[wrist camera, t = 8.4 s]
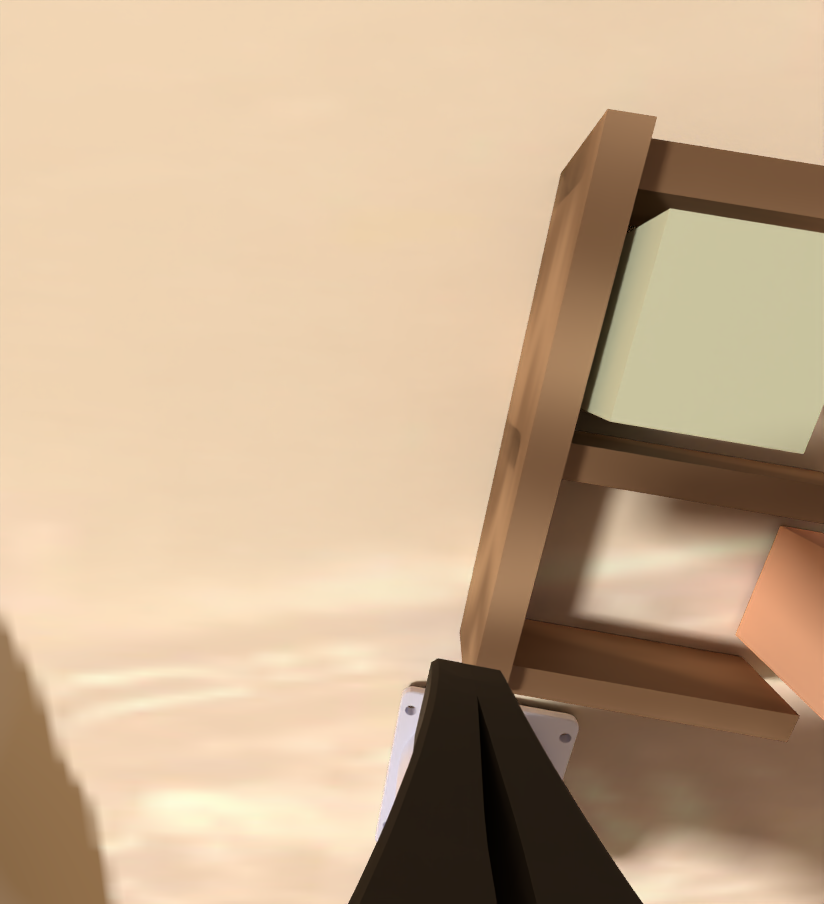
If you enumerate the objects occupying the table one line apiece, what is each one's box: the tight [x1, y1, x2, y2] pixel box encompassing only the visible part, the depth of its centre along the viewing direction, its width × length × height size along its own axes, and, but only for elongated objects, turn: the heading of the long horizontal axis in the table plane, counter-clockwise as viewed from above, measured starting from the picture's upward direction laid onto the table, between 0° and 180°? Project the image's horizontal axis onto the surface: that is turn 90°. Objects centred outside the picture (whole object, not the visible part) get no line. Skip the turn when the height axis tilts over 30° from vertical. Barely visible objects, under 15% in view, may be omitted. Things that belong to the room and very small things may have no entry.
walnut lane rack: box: [460, 109, 824, 742], centre depth 14 cm, size 18×12×4 cm, turn 171°
